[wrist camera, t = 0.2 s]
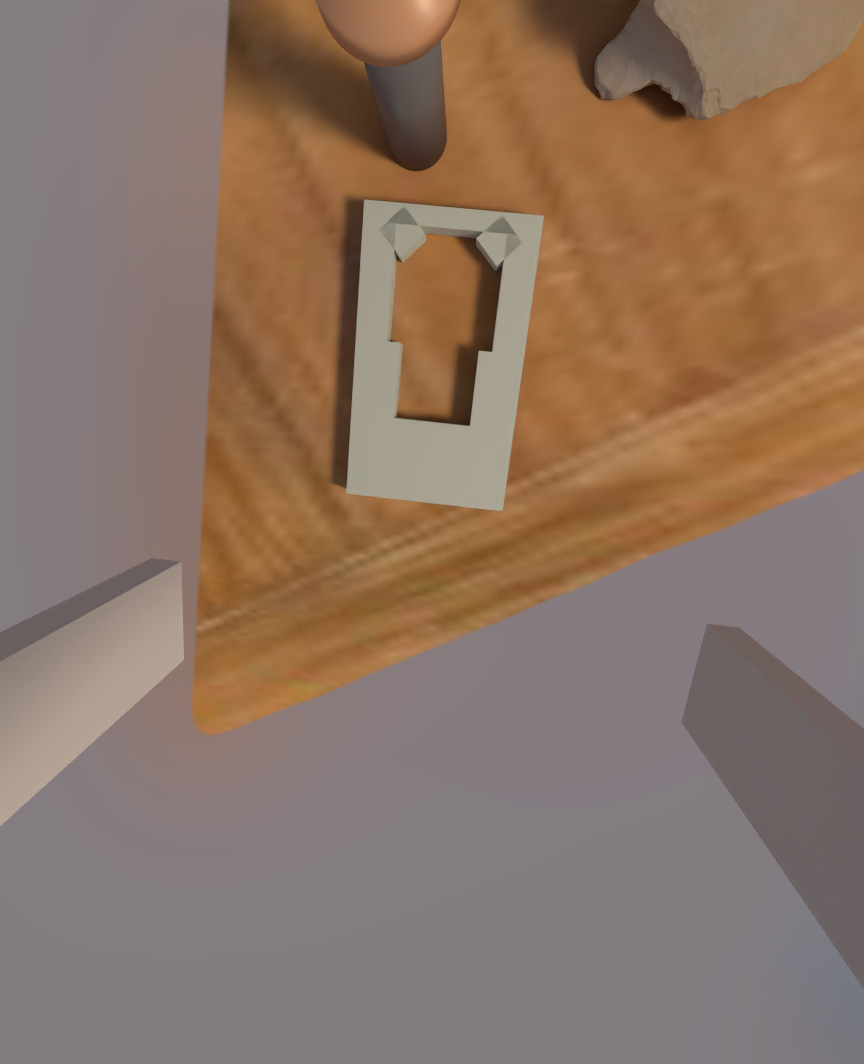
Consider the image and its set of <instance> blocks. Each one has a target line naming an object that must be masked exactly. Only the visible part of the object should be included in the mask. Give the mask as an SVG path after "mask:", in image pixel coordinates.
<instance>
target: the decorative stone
mask: <svg viewBox="0 0 864 1064" xmlns="http://www.w3.org/2000/svg"><path fill="white" fill-rule="evenodd" d="M863 21H864V0H640V1H639V3H638V5H637V6H636V7H635V9H634V10H633V12H632V14H631V16H630V18H629V19H628V21H627V23H626V25H625V27H624V29H623V30H622V31H621V32H620V33H619V34H618V35H617V37H616V38H615V39H613V40H612V41H610V42H609V43H608V44H607V45H606V46H605V47H604V49H603V50H602V51H601V53H600V54H599V55H598V56H597V57H596V61H595V66H594V74H595V75H594V84H595V87H596V88H597V90H598V91H599V93H600V96H601V99H609V100H617V99H621V98H624V97H626V96H628V95H629V94H630V93H633V92H636V91H638V90H640V89H642V88H643V87H646V86H649V85H652V84H656V85H660V87H661V90H662V91H665V92H667V93H669V94H671V96H672V99H673V100H674V101H676V102H679V103H681V104H682V105H683V107H684V108H685V112H686V116H688V117H690V118H693V119H700V120H705V119H709V118H711V117H712V116H714V115H718V114H724V113H726V112H728V111H730V110H732V109H733V108H734V107H736V106H737V105H739V104H741V103H743V102H746V101H748V100H750V99H752V98H760V97H762V96H765V95H766V94H767V93H769V92H770V91H772V90H775V89H779V88H781V87H783V86H786V85H793V84H797V83H800V82H802V81H803V80H804V79H805V78H806V77H808V76H809V75H810V74H811V73H813V72H815V71H817V70H818V69H820V68H822V67H823V66H825V65H826V64H827V63H828V62H829V61H830V60H832V59H834V58H837V57H838V56H839V55H840V54H842V53H843V52H844V51H845V50H846V49H847V48H848V47H849V46H850V45H851V44H852V42H853V40H854V39H855V37H856V35H857V33H858V31H859V28H860V26H861V25H862V23H863Z"/></svg>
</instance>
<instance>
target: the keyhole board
mask: <svg viewBox="0 0 864 1064" xmlns="http://www.w3.org/2000/svg"><path fill="white" fill-rule="evenodd" d="M543 219H544V216H540V215H529V214H518V213H507V212H496V211H485V210H474V209H463V208H452V207H441V206H430V205H419V204H408V203H397V202H386V201H375V200H364V211H363V227H362V244H361V261H360V277H359V294H358V310H357V327H356V343H355V360H354V376H353V393H352V409H351V426H350V442H349V459H348V475H347V492H346V493H347V494H356V495H365V496H374V497H382V498H391V499H400V500H409V501H418V502H427V503H435V504H444V505H453V506H462V507H471V508H480V509H488V510H497V511H502V510H503V503H504V496H505V489H506V482H507V475H508V468H509V460H510V453H511V446H512V439H513V432H514V425H515V418H516V411H517V404H518V396H519V389H520V382H521V375H522V368H523V361H524V354H525V347H526V339H527V332H528V325H529V318H530V311H531V304H532V297H533V290H534V283H535V275H536V268H537V261H538V254H539V247H540V240H541V233H542V226H543ZM425 234H436V235H447V236H458V237H468V238H476V246H477V248H478V249H479V250H480V252H481V253H482V254H483V256H484V257H485V259H486V260H487V261H488V263H489V264H490V265H491V267H492V268H493V270H494V271H497V270H498V269H499V268H500V267H501V266H502V272H501V280H500V288H499V296H498V304H497V312H496V320H495V328H494V336H493V344H492V352H487V351H479V352H478V360H477V369H476V377H475V386H474V394H473V402H472V411H471V419H470V425H460V424H451V423H442V422H432V421H423V420H414V419H404V418H397V410H398V398H399V386H400V374H401V362H402V350H403V345H402V344H401V343H399V342H390V339H391V326H392V313H393V300H394V287H395V274H396V261H397V256H398V257H399V259H400V260H401V261H402V263H403V262H404V261H405V260H406V259H407V258H409V257H410V256H411V255H412V254H413V253H414V252H415V251H416V250H417V249H418V248H419V247H420V246H421V245H423V244H424V243H425V242H426V236H425Z"/></svg>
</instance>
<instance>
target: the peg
mask: <svg viewBox="0 0 864 1064" xmlns="http://www.w3.org/2000/svg"><path fill="white" fill-rule="evenodd" d="M460 1H461V0H316V2H317V5H318V7H319V10H320V13H321V16H322V18H323V20H324V22H325V24H326V27H327V28H328V30H329V32H330V33H331V35H332V36H333V38H334V39H335V40H336V41H337V42H338V44H339V45H340V46H341V47H342V48H343V49H344V50H345V51H347V52H348V53H349V54H351V55H352V56H353V57H355V58H356V59H358V60H360V61H362V62H364V64H365V67H366V71H367V74H368V78H369V81H370V84H371V88H372V91H373V95H374V98H375V101H376V105H377V108H378V112H379V115H380V119H381V122H382V125H383V129H384V132H385V136H386V139H387V142H388V146H389V149H390V152H391V154H392V156H393V158H394V159H395V160H396V162H397V163H398V164H399V165H401V166H402V167H403V168H406V169H408V170H411V171H422V170H426V169H428V168H430V167H431V166H433V165H434V164H435V163H436V162H437V161H438V160H439V159H440V157H441V156H442V154H443V152H444V149H445V146H446V141H447V130H446V115H445V100H444V85H443V70H442V55H441V39H442V38H443V37H444V35H445V34H446V32H447V31H448V29H449V28H450V26H451V24H452V22H453V20H454V18H455V16H456V13H457V11H458V8H459V5H460Z"/></svg>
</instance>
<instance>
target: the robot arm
mask: <svg viewBox="0 0 864 1064" xmlns="http://www.w3.org/2000/svg"><path fill="white" fill-rule="evenodd" d="M183 647H184V646H183V609H182V573H181V562H179V561H171V560H162V559H153V558H152V559H149V560H147V561H145V562H143V563H141V564H139V565H137V566H135V567H133V568H131V569H129V570H127V571H125V572H123V573H121V574H119V575H117V576H114V577H112V578H110V579H108V580H106V581H104V582H102V583H100V584H98V585H96V586H94V587H92V588H90V589H88V590H86V591H84V592H82V593H80V594H78V595H76V596H74V597H72V598H70V599H68V600H65V601H63V602H61V603H59V604H57V605H55V606H53V607H51V608H49V609H47V610H45V611H43V612H41V613H39V614H37V615H35V616H33V617H31V618H29V619H27V620H25V621H22V622H20V623H18V624H16V625H14V626H12V627H10V628H8V629H6V630H4V631H2V632H0V826H1V825H2V824H3V823H4V822H5V821H6V820H7V819H8V818H10V817H11V816H12V815H13V814H14V813H15V812H16V811H17V810H18V809H20V808H21V807H22V806H23V805H24V804H25V803H26V802H27V801H28V800H30V799H31V798H32V796H34V795H35V794H36V793H37V792H38V791H39V790H40V789H42V788H43V787H44V786H45V785H46V784H47V783H48V782H49V781H50V780H52V779H53V778H54V777H55V776H56V775H57V774H58V773H59V772H60V771H62V769H64V768H65V767H66V766H67V765H68V764H69V763H70V762H71V761H73V760H74V759H75V758H76V757H77V756H78V755H79V754H80V753H81V752H83V751H84V750H85V749H86V748H87V747H88V746H89V745H90V744H91V743H92V742H94V741H95V740H96V739H97V738H98V737H99V736H100V735H101V734H102V733H104V732H105V731H106V730H107V729H108V728H109V727H110V726H111V725H112V724H113V723H114V722H116V721H117V720H118V719H119V718H120V717H121V716H122V715H123V714H124V713H125V712H127V711H128V710H129V709H130V708H131V707H132V706H133V705H134V704H135V703H137V702H138V701H139V700H140V699H141V698H142V697H143V696H144V695H145V694H147V693H148V692H149V691H150V690H151V689H152V688H153V687H154V686H155V685H156V684H157V683H159V682H160V681H161V680H162V679H163V678H164V677H165V676H166V675H168V674H169V673H170V672H171V671H172V670H173V669H174V668H175V667H176V666H177V665H179V664H180V663H181V662H182V661H183V660H184V648H183ZM682 723H683V725H684V726H685V728H686V729H687V731H688V732H689V734H690V735H691V737H692V738H693V739H694V741H695V742H696V744H697V745H698V747H699V748H700V750H701V751H702V753H703V754H704V756H705V757H706V759H707V760H708V762H709V763H710V764H711V766H712V767H713V769H714V770H715V772H716V773H717V775H718V776H719V777H720V779H721V781H722V782H723V783H724V785H725V786H726V788H727V789H728V791H729V792H730V794H731V795H732V797H733V798H734V800H735V801H736V803H737V804H738V805H739V807H740V808H741V810H742V811H743V813H744V814H745V816H746V817H747V819H748V820H749V822H750V823H751V824H752V826H753V827H754V829H755V830H756V832H757V833H758V835H759V836H760V838H761V839H762V841H763V842H764V844H765V845H766V846H767V848H768V849H769V851H770V852H771V854H772V855H773V857H774V858H775V859H776V861H777V863H778V864H779V866H780V867H781V868H782V870H783V871H784V873H785V874H786V876H787V877H788V879H789V880H790V882H791V883H792V885H793V886H794V887H795V889H796V890H797V892H798V893H799V895H800V896H801V898H802V899H803V901H804V902H805V904H806V905H807V907H808V908H809V910H810V911H811V912H812V914H813V915H814V917H815V918H816V919H817V921H818V923H819V924H820V925H821V927H822V929H823V930H824V931H825V933H826V934H827V936H828V937H829V939H830V940H831V942H832V943H833V945H834V946H835V948H836V949H837V950H838V952H839V953H840V955H841V956H842V958H843V959H844V961H845V962H846V964H847V965H848V967H849V968H850V970H851V971H852V973H853V974H854V975H855V977H856V978H857V980H858V981H859V983H860V984H861V986H862V987H863V988H864V729H863V728H862V727H861V726H860V725H858V724H857V723H856V722H855V721H853V720H852V719H851V718H850V717H849V716H847V715H846V714H845V713H844V712H842V711H841V710H840V709H839V708H838V707H836V706H835V705H834V704H832V703H831V702H830V701H829V700H828V699H826V698H825V697H824V696H823V695H822V694H820V693H819V692H818V691H817V690H815V689H814V688H813V687H812V686H810V685H809V684H808V683H806V682H805V681H804V680H803V679H802V678H801V677H799V676H798V675H797V674H796V673H794V672H793V671H792V670H791V669H790V668H788V667H787V666H786V665H785V664H783V663H782V662H781V661H780V660H778V659H777V658H776V657H775V656H774V655H772V654H771V653H770V652H769V651H767V650H766V649H765V648H764V647H762V646H761V645H760V644H759V643H758V642H756V641H755V640H754V639H753V638H751V637H750V636H749V635H748V634H746V633H745V632H744V631H743V630H741V629H740V628H738V627H730V626H722V625H713V624H707V626H706V630H705V634H704V638H703V642H702V645H701V650H700V654H699V657H698V661H697V665H696V669H695V672H694V677H693V680H692V684H691V688H690V692H689V696H688V699H687V703H686V708H685V711H684V715H683V719H682Z"/></svg>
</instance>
